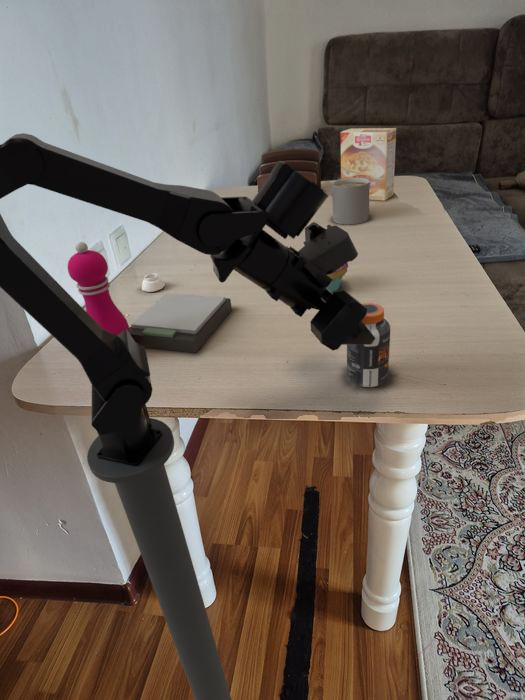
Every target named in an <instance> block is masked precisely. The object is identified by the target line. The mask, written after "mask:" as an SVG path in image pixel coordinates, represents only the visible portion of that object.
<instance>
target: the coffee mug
mask: <svg viewBox="0 0 525 700" xmlns="http://www.w3.org/2000/svg"><path fill="white" fill-rule="evenodd" d="M369 190H370V181H369V180H368V179H365V178H345V179H341V178H340V179H337V180H333V181H332V182H331V195H332V196H331V197H332V199H331V200H332V222H334V223H335V224H339V225H358V224H363V223H365V222H367V221H368V220H369V219H370V200H369Z"/></svg>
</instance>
